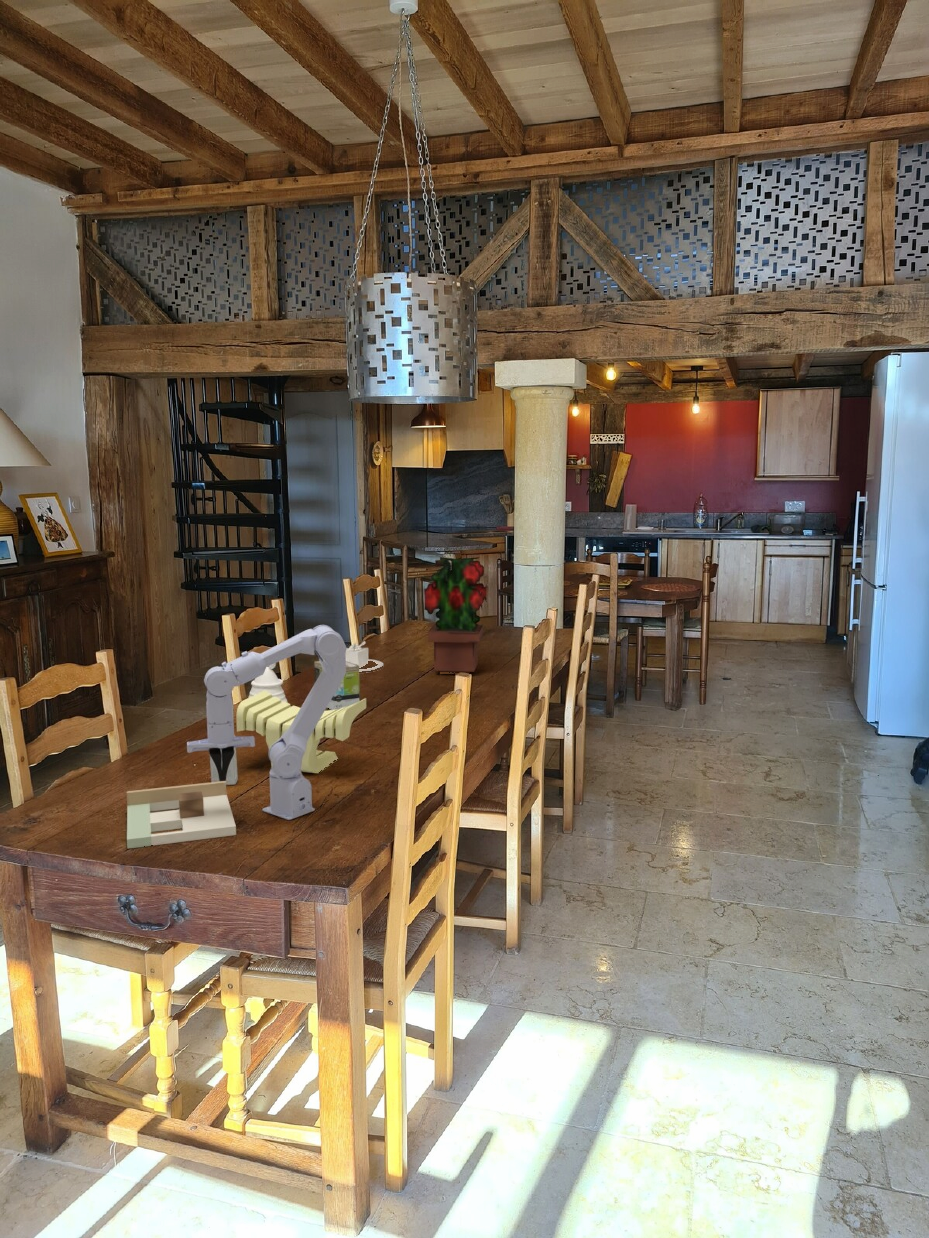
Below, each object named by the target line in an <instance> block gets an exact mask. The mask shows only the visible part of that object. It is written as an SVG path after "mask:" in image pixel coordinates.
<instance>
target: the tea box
mask: <svg viewBox="0 0 929 1238" xmlns="http://www.w3.org/2000/svg"><path fill="white" fill-rule="evenodd" d="M313 663H314V668H313V671H314V683H315V682H316V680H317V679H318V677H319V675H320V673H321V672H322V667H321V664H320V661H319V660H317V661H314V662H313ZM359 701H361V700H360V673H359V665H357V664H353V663H350V662H347V661H346V674H345V676H344V678H343V680H342V681H341V683H340V685H339V687H338V688H337V690H336V692H335V694H334V695H333V697H332V699H331V701H330V702H329V704H328V706H327V708H326V709H328V708H329V709H328V710H335V709H337V710H339V709H340V708H343V707H348V706H350V705H352V704H354V703H357V702H359Z"/></svg>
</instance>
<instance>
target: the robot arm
mask: <svg viewBox="0 0 929 1238" xmlns="http://www.w3.org/2000/svg"><path fill="white" fill-rule="evenodd" d="M347 648H348V647H347V646H346V644H345V641H344V639H343V637H342V636H341V634H340V633H339V632H337V631H335V630H334V629H333V628H332V627H331V626H329V625H326V624H320V625H317V626H315V627H313V628H309V629H306V630H304V631H302V632H299V633H298V634H296V635H294V636H291V637H290V638H288V639H286V640H283V641H282V642H281V643H278V644H277V645H274V646H272V647H271V648H269V649H267V650H265V651H262V652H261V653H259V652H255V651H250V652H248V651H247V650H246V651H243V652H241V656H240V657H237V658H235V659H233V660H231V661H229V662H227V661H223V662H222V663H221V666H218V665H217V666H213V667H211V668H210V669H208V670H207V672H206V673H205V675H204V678H203V683H204V685H205V687H206V689H207V690H206V695H205V696H206V704H205V706H206V727H207V728H206V729H207V738H204V739H199V740H193V741H187V742H186V750H187V753H188V754H190V753H193V752H201V751H208V752H209V757H210V756H211V758H212V760H213V761H214V763H215V766H216V768H217V771H218V775H219V781H226V776H227V771H228V767H229V764H230V762H231V760H232V757H233V756H234V748H235V747H236V748H243V747H244V748H246V747H250V748H252V747H253V748H254V747H256V743H255V742H256V738H255V736H253V735H251V736H235V737H234V735H235V725H234V723H235V722H234V721H235V720H234V700H233V697H232V691H233V690H234V688H235V687H240V686H241V685H244V684H246V683H248V682H251V681H253V680H255V678H257V677H259V676H261V675H263V674H264V672H265V669H266V667H269V666H270V665H272V664H274V663H276V664H277V663H279V662H281V661H284V660H286V659H289V658H291V657H294V656H295V655H298V654H305V655H311V656H315V653H316V655H317V657H318V661H320V664H321V667H322V672H321V673H320V675H319V677H318V679H317V680H316V682H315V681H314V684H313V685H312V688H311V689H310V691H309V693H308V694H307V696H306V698H305V700H304V702H303V703H302V704H301V707H299V708H300V710H299V712H298V714H297V715H296V717H295V719H294V721H293V722H292V724H291V726H290V728H289V729H288V730H287V731H285V732H284V733H283V734H282V736H281V738H280V739H279V740H278V741H276V742H275V743H274V744H273V745H272V746H271V747H270V749H269V748H268V753H267V754H268V759H269V760H270V763H271V762H272V764H273V766H272V768H270V770H269V773H268V774H269V799H270V803H269V804H270V805H269V806H267V807H264V808H262V812H264V813H267V814H269V815H270V814H271V815H273V816H277V817H279V818H282V819H284V820H288V821H291V820H293V819H296V818H298V817H302V816H303V815H306V814H309V813H312V812H314V811H315V809H316V808H315V807H313V802H312V801H313V799H312V784H311V781H310V780H309V779H307V778H306V777H305V776H304V775H303V773H302V772H301V766H302V758H303V755H304V754H305V752H306V746H307V741H308V739H309V737H310V736H311V734H312V732H313V730H314V729H315V727H316V725H317V723H318V722H319V720H320V718H321V716H322V715H323V713H324V711H326V710H327V709H328V708H327V706H328V704H329V702H330V701H331V699H332V697H333V695H334V694H335V692H336V690H337V688H338V687H339V685H340V683H341V681H342V680H343V678H344V676H345V674H346V649H347ZM220 749H221V750H220ZM221 751H222V755H221Z"/></svg>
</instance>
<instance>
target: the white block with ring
mask: <svg viewBox="0 0 929 1238" xmlns="http://www.w3.org/2000/svg"><path fill="white" fill-rule="evenodd" d="M366 643H367V642H366V641H365V640H364V641H362V642H361V643H360V644H359V645H358V644H357V643H356V642H354V643H353V644H352V645H350V646H349V647H346V648H347V649H346V661H347V662H350V663H353V664H357V665H359V668H361V667H363V666H365V665H366V664H368V661H373V662H375V663H376V664H378V665H377V666H375V667H372V668H367V669H359V672H362V671H371V670H375V669H377V668H380V667H382V666H383V667H384V663H383V662H382V661H380V660H376V659H370V658H369V647H362V646H364V645H365V644H366Z"/></svg>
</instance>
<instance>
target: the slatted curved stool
mask: <svg viewBox="0 0 929 1238" xmlns="http://www.w3.org/2000/svg"><path fill="white" fill-rule="evenodd" d="M300 708H301V707H299V706H296V705H292V706H291V703H289V702H288V701H287V702H282V703H281V699H279V698H277V697H275V696H274V697H272V694H270V693H269V692H267V691H266V690H265V691H263V692H261V693H258V694H256V695H254V696H252V697H250V698H245V699H244V700H242V701H240V703H239V704H238V706H237V709H236V714H235V715H236V717H235V718H236V732H238V733H239V732H241V731H242V732H244V731H245V730H246V731H249V732H250V731H251V732H254V731H255V733H258V734H259V735H261V736H262V737H264V736H265V742H266V745H267V747H268V750H269V749H270V747H271V746H272V745H273V744H274V743H275V742H276V741H278V740H279V739H280V738H281V736H282V734H283V733H284V732H285V731H287V730H288V729H289V728H290V726H291V724H292V722H293V721H294V719H295V717H296V715H297V714H298V712H299V710H300ZM366 709H367V698H366V697H365V698H363V699H361V700H360V701H359V702H357V703H354V704H352V705H350V706H348V707H343V708H340V709H339V710H337V709H335V710H331V709H328V710H325V711H324V713H323V715H322V716H321V718H320V720H319V722H318V723H317V725H316V727H315V729H314V730H313V732H312V734H311V736H310V737H309V739H308V741H307V746H306V752H305V754H304V755H303V758H302V766H301V773H302V772H303V773H310V774H319V772H320V771H321V770H322V771H324V770H325V769H326V768H325V767H327V768H328V767H330V765H329V764H330V763H332V764H333V763H334V762H333V761H334V760H336V761H338V760H339V758H338V755H337V753H336V752H335V751H328V750H325V751H324V750H318V745H319V743H320V741H321V739H323V738H326V739H327V738H328V739H333V738H335V739H336V740H339V741H341V742H344V741H345V740H347V739H348V738H349V737H350V733H351V728H352V724H353V721H354V720H355V719H356V718H357V716H358V715H359V714H360V713H361V712H363V711H364V710H366ZM337 759H338V760H337ZM270 764H271V767H270V769H272V766H273V764H272V762H271V761H270ZM324 768H325V769H324ZM322 771H321V772H322ZM321 772H320V773H321Z"/></svg>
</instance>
